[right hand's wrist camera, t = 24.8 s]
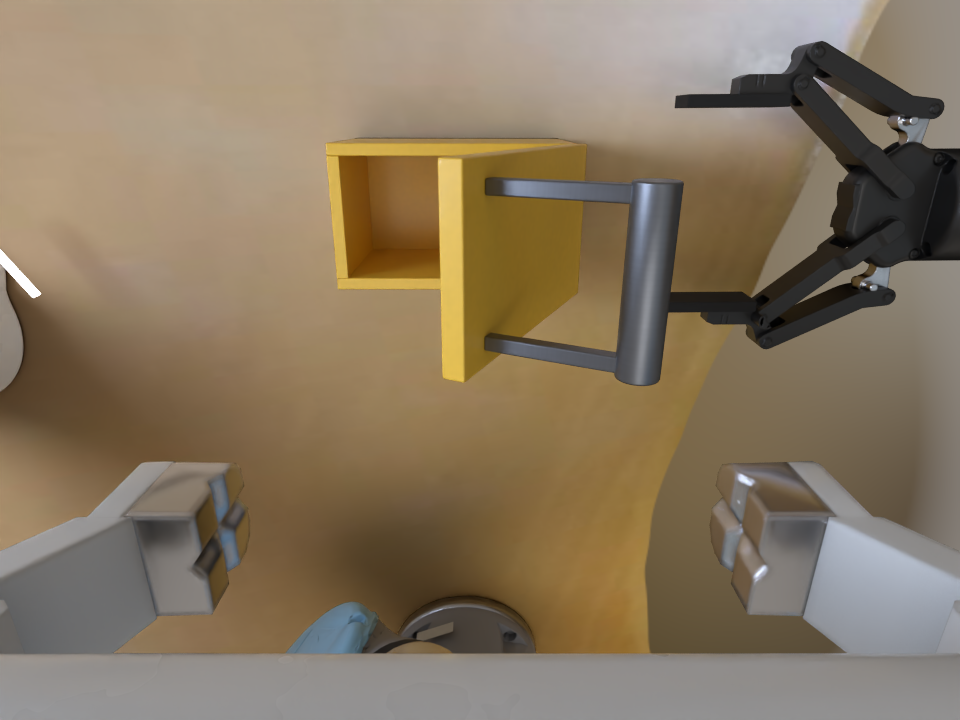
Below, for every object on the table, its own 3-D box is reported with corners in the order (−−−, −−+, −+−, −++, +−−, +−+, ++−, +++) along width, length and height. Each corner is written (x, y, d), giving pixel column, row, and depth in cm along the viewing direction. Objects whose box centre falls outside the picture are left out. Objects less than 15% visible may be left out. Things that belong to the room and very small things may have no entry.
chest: (365, 256, 50) (337, 289, 40) (357, 138, 47) (324, 142, 37) (551, 256, 50) (568, 289, 40) (556, 138, 47) (577, 143, 37)
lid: (441, 379, 26) (646, 420, 23) (436, 157, 23) (676, 164, 19) (561, 291, 40) (701, 308, 36) (569, 143, 37) (724, 146, 33)
